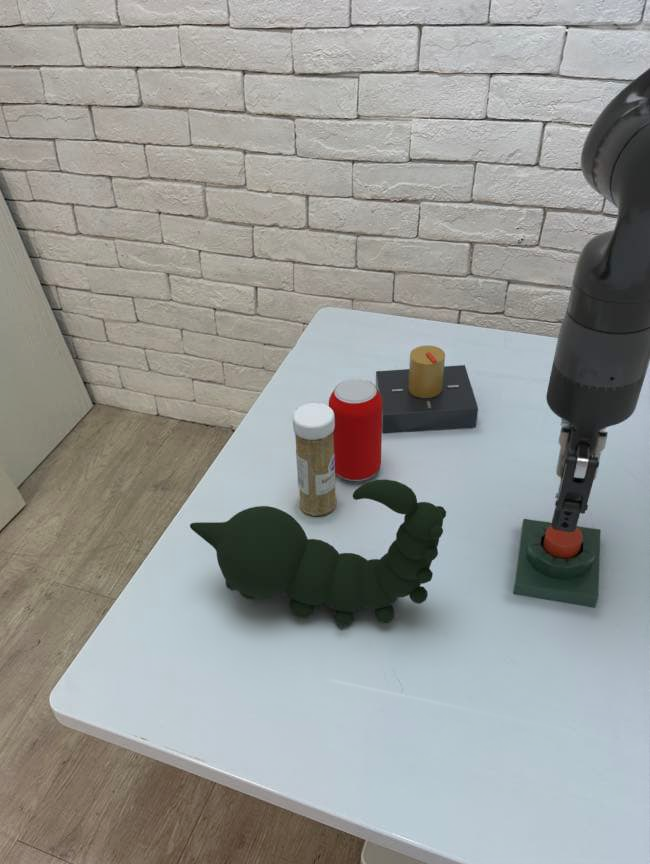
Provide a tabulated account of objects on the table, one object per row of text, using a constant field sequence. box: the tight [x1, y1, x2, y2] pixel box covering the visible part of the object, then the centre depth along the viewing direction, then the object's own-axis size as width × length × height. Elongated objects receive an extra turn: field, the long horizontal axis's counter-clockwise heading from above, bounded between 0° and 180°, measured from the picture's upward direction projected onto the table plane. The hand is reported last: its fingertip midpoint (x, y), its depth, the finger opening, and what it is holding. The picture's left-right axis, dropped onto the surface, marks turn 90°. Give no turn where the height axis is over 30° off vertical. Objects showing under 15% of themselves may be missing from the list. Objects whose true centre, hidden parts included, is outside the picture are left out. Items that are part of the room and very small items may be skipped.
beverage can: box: [328, 378, 383, 482], centre depth 96 cm, size 6×6×12 cm
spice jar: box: [292, 402, 337, 517], centre depth 92 cm, size 5×5×14 cm
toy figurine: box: [189, 479, 447, 628], centre depth 80 cm, size 9×19×25 cm
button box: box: [512, 518, 601, 608], centre depth 84 cm, size 10×8×4 cm
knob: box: [408, 344, 446, 398], centre depth 104 cm, size 4×4×6 cm
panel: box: [375, 364, 479, 434], centre depth 107 cm, size 12×10×3 cm
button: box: [543, 525, 583, 558], centre depth 83 cm, size 4×4×2 cm
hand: (565, 499), depth 80 cm, fingers open, 8 cm apart
